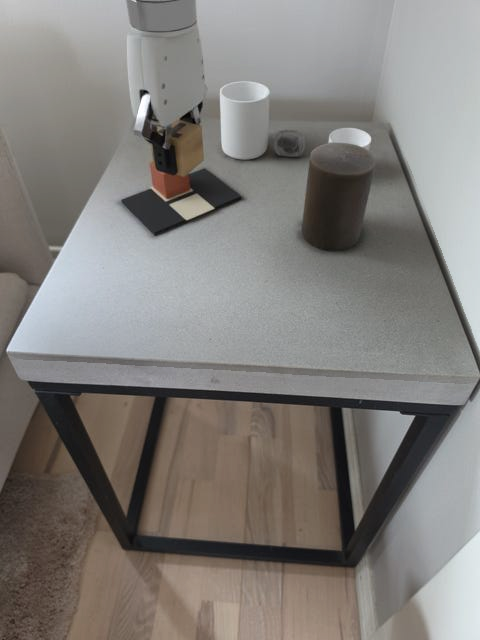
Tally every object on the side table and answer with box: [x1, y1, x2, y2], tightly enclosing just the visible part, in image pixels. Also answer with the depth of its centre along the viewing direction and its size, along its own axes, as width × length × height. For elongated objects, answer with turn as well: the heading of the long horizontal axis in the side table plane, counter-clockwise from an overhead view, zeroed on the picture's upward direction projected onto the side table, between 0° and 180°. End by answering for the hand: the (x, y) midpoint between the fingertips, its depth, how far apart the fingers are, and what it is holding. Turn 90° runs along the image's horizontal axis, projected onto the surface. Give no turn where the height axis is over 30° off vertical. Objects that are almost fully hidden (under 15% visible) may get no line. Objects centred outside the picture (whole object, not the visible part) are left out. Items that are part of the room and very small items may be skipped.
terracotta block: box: [149, 160, 190, 199], centre depth 87 cm, size 5×5×5 cm
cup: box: [327, 127, 372, 151], centre depth 91 cm, size 8×10×7 cm
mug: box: [219, 80, 271, 161], centre depth 96 cm, size 10×12×12 cm
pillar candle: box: [301, 142, 377, 252], centre depth 75 cm, size 10×10×15 cm
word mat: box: [121, 167, 242, 236], centre depth 87 cm, size 18×13×1 cm
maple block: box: [150, 119, 205, 177], centre depth 65 cm, size 5×5×5 cm
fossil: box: [272, 129, 306, 158], centre depth 97 cm, size 6×3×5 cm, turn 89°
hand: (178, 161), depth 67 cm, fingers closed on maple block, 5 cm apart
